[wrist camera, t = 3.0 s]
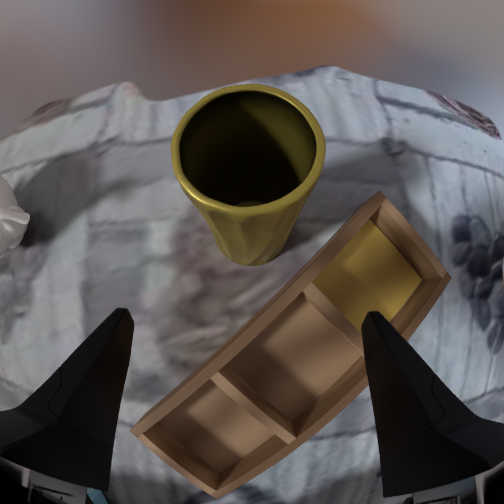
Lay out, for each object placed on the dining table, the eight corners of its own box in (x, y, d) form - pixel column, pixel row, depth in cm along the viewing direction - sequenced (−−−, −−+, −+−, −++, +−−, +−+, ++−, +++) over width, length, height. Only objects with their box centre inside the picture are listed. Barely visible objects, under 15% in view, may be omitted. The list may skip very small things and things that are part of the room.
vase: (202, 249, 22) (127, 192, 8) (231, 183, 23) (205, 61, 9) (272, 277, 22) (306, 261, 8) (298, 208, 23) (355, 106, 9)
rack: (429, 279, 22) (453, 277, 18) (222, 476, 20) (218, 499, 16) (363, 202, 23) (380, 188, 19) (145, 413, 21) (129, 430, 17)
